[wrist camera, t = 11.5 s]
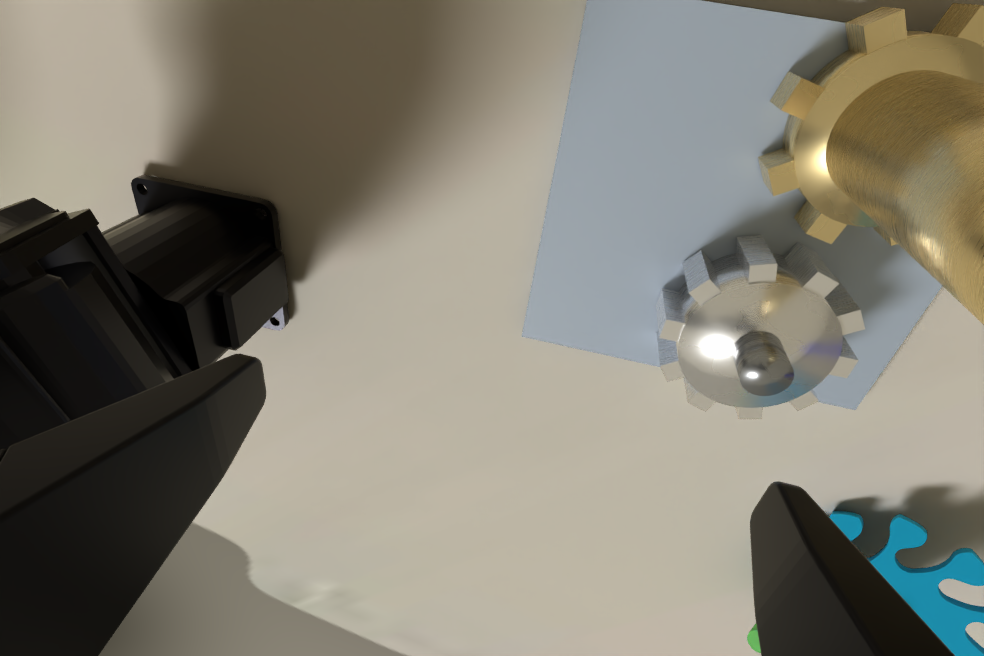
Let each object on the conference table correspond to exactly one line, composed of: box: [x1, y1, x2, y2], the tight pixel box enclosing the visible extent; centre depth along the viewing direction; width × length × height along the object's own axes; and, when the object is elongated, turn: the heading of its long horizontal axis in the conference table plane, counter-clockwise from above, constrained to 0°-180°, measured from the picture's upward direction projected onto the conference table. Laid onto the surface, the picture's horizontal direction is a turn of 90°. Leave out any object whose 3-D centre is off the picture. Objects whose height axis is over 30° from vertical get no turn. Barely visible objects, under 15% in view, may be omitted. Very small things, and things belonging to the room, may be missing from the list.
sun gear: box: [656, 235, 865, 419], centre depth 19 cm, size 6×6×4 cm
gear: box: [747, 511, 984, 656], centre depth 26 cm, size 11×6×10 cm
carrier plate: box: [522, 0, 942, 410], centre depth 19 cm, size 14×13×1 cm
